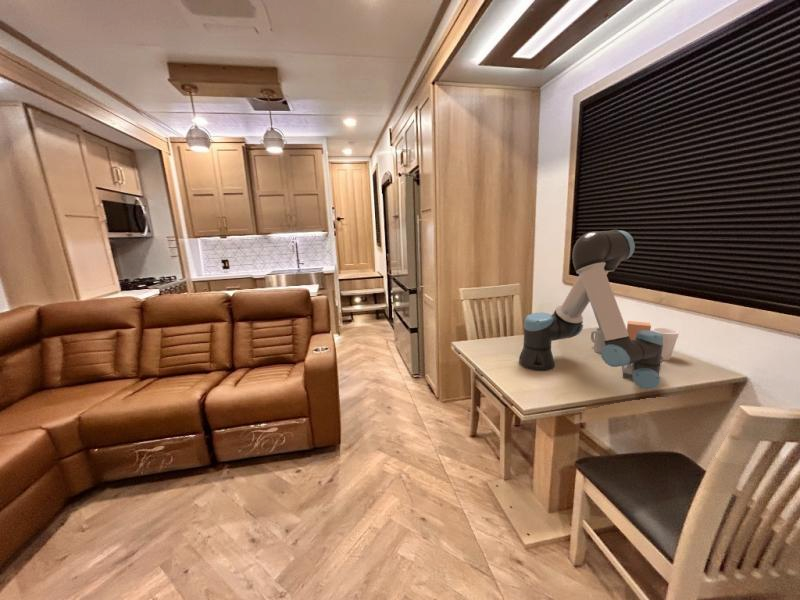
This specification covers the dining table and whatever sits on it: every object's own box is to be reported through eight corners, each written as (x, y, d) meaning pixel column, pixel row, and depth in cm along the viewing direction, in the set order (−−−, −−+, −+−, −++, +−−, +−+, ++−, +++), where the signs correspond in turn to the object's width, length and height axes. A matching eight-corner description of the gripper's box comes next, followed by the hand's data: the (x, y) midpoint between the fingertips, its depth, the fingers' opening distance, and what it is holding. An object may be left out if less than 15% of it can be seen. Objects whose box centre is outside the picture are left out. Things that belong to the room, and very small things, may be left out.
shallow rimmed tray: (653, 382, 125) (655, 372, 124) (622, 377, 130) (624, 367, 129) (647, 359, 145) (648, 350, 144) (621, 356, 151) (621, 347, 150)
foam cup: (669, 363, 141) (673, 335, 138) (645, 357, 148) (648, 330, 145) (677, 357, 146) (681, 330, 143) (653, 352, 153) (656, 326, 150)
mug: (618, 353, 154) (620, 331, 152) (604, 355, 152) (606, 334, 150) (597, 345, 165) (598, 325, 163) (583, 347, 163) (585, 327, 161)
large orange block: (646, 360, 140) (651, 326, 136) (624, 357, 144) (628, 324, 140) (645, 355, 144) (649, 322, 141) (624, 352, 149) (627, 320, 145)
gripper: (621, 370, 125) (620, 350, 144) (664, 376, 118) (656, 355, 137) (623, 352, 124) (622, 334, 143) (666, 358, 117) (658, 338, 136)
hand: (639, 344), depth 140 cm, fingers closed
